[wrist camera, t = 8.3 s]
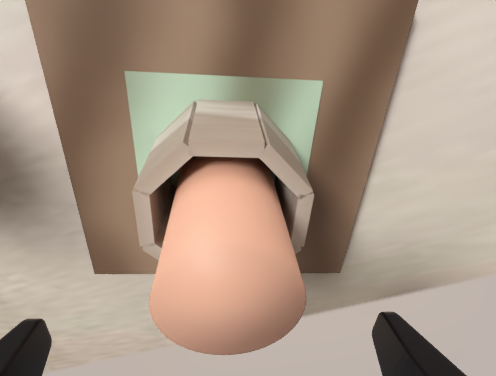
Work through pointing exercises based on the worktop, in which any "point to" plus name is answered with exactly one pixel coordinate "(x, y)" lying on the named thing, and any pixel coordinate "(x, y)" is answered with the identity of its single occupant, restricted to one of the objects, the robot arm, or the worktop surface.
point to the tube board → (218, 109)
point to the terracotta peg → (226, 261)
